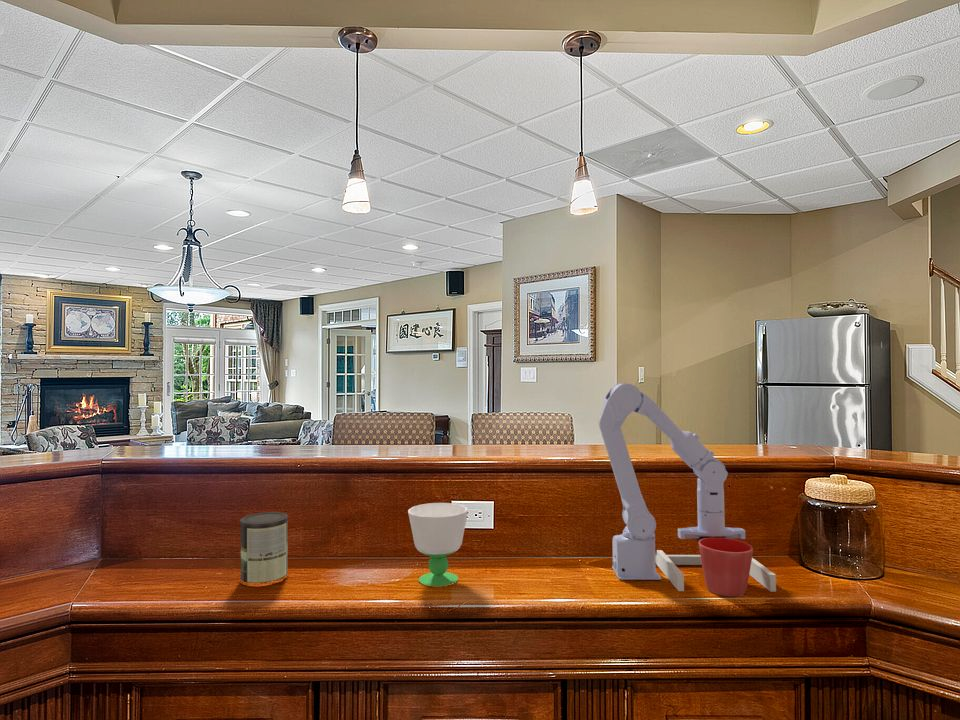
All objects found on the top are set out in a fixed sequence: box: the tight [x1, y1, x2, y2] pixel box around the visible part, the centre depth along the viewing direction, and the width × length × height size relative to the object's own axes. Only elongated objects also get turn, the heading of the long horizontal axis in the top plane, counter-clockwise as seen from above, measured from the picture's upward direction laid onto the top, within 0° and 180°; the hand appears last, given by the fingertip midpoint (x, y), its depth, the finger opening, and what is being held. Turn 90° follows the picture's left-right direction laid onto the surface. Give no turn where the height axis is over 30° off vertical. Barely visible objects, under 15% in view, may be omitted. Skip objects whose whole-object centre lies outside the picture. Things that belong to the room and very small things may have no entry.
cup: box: [407, 502, 469, 587], centre depth 128 cm, size 14×14×16 cm
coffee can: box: [239, 511, 289, 583], centre depth 130 cm, size 10×10×14 cm
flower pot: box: [698, 537, 754, 597], centre depth 121 cm, size 11×11×10 cm
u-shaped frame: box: [655, 549, 777, 593], centre depth 129 cm, size 20×18×4 cm
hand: (712, 570), depth 129 cm, fingers closed
